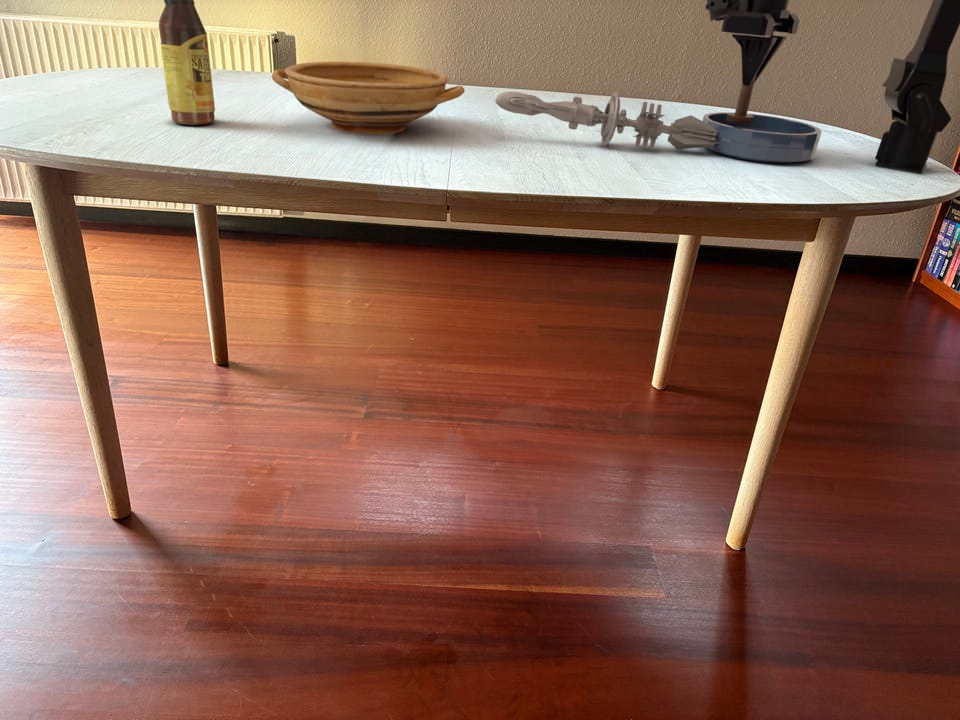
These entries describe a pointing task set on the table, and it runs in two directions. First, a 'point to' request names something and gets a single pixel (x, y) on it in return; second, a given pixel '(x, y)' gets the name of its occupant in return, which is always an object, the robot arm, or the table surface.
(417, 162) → the table surface
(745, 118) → the stirring stick
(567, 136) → the table surface
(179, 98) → the sauce bottle
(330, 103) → the ceramic bowl
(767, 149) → the mixing bowl
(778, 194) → the table surface
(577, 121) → the spaceship
